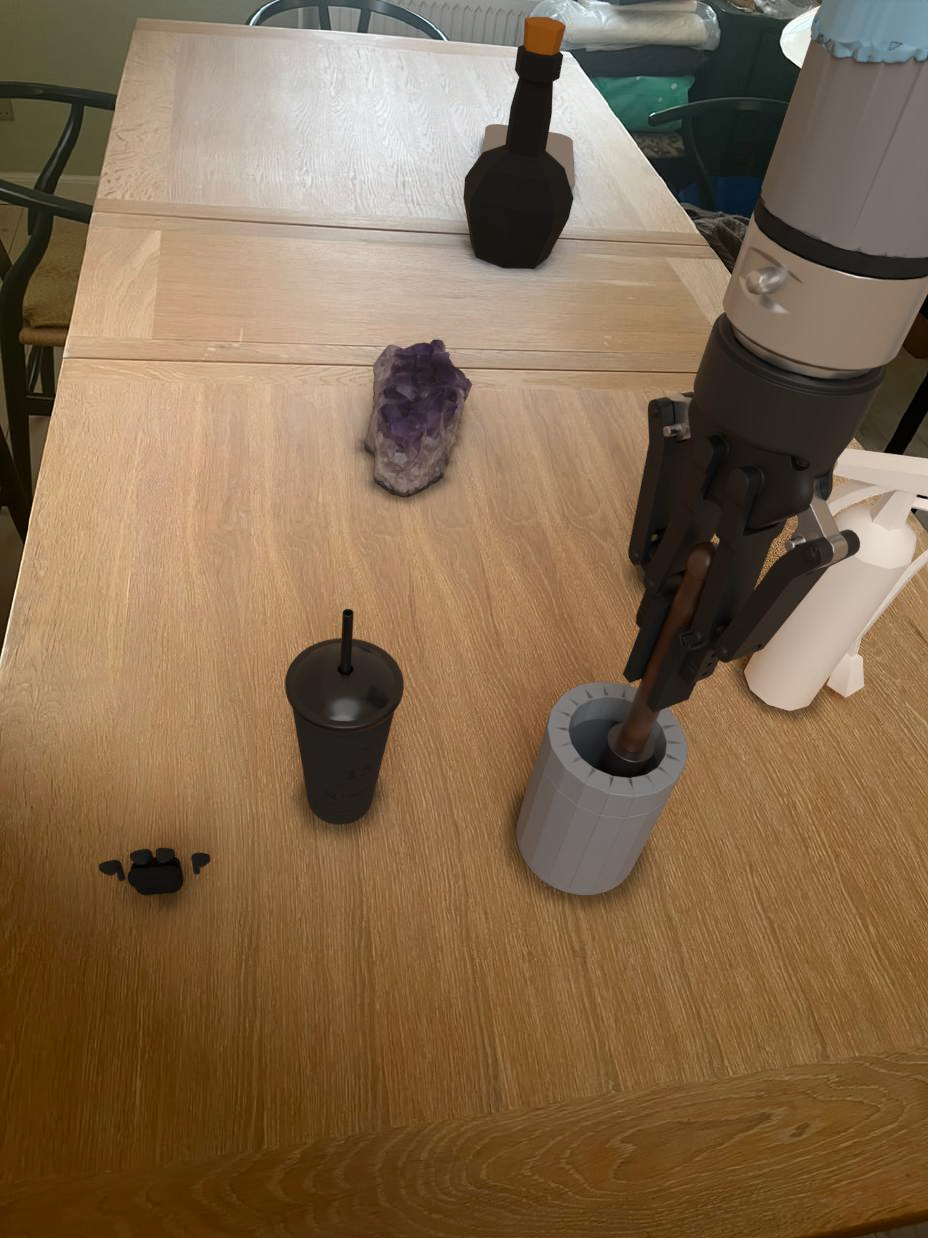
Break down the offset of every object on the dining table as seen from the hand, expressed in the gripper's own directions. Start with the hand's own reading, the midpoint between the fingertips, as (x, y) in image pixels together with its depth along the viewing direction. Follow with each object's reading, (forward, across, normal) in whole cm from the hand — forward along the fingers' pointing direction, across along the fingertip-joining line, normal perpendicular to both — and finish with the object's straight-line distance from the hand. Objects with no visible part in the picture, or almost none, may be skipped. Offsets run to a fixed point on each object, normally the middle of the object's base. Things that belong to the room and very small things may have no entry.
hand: (655, 686), depth 56 cm
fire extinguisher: (+19, -6, +26) cm, 32 cm away
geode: (+19, -50, +10) cm, 54 cm away
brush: (+15, 0, 0) cm, 15 cm away
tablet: (+19, -119, +65) cm, 137 cm away
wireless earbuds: (+19, -9, -30) cm, 36 cm away
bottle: (+19, -90, +45) cm, 102 cm away
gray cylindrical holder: (+18, -1, -1) cm, 18 cm away
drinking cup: (+19, -11, -16) cm, 27 cm away
